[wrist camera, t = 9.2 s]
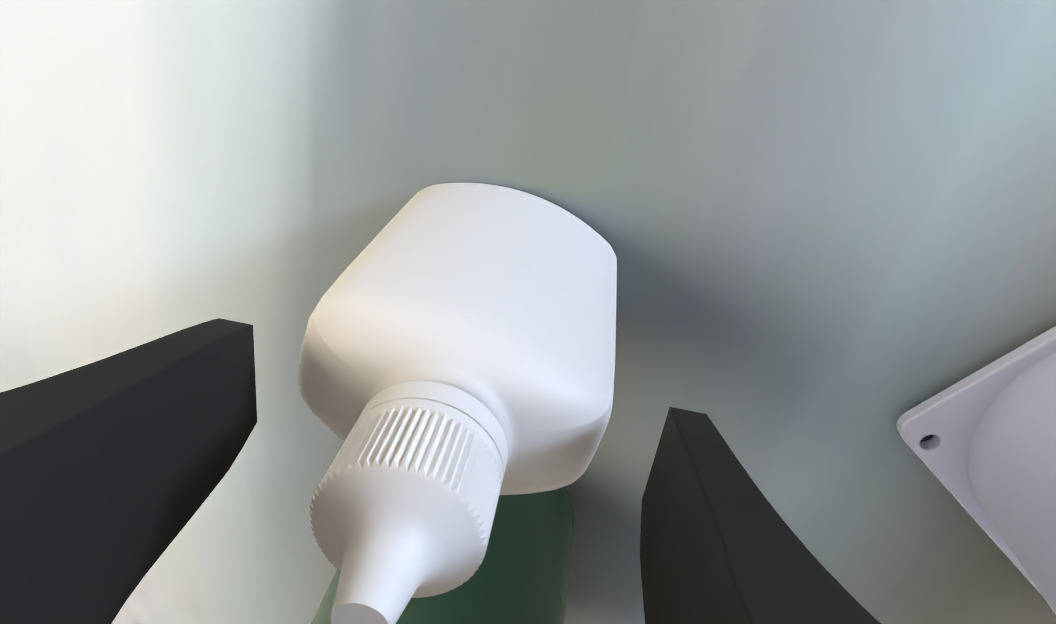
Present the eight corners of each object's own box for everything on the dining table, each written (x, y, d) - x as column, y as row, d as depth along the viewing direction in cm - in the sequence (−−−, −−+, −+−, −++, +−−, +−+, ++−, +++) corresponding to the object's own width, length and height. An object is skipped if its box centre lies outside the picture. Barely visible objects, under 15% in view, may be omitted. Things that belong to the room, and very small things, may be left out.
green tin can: (614, 523, 22) (611, 795, 15) (478, 607, 25) (417, 874, 17) (470, 393, 21) (387, 625, 13) (340, 497, 23) (210, 740, 16)
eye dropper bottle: (524, 362, 20) (415, 806, 9) (383, 225, 19) (63, 563, 8) (640, 272, 18) (669, 689, 8) (494, 114, 17) (278, 353, 6)
